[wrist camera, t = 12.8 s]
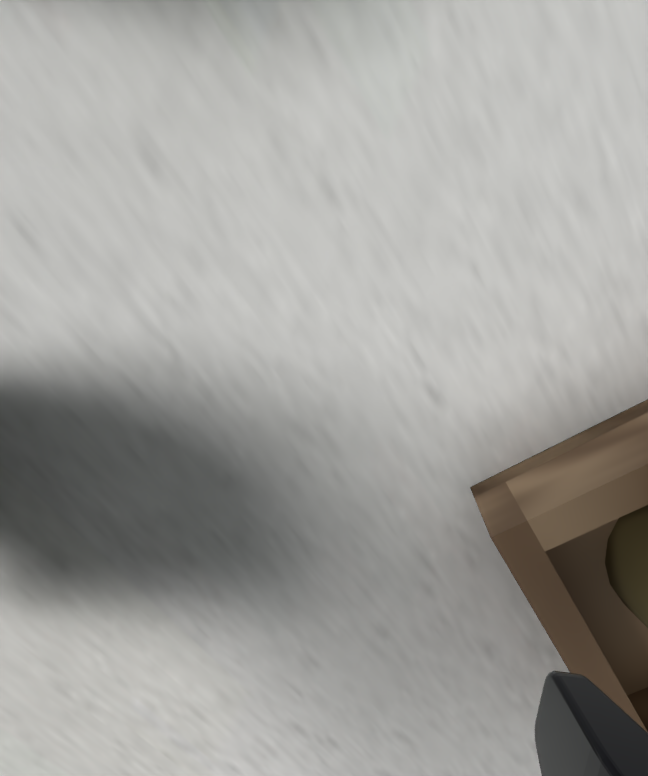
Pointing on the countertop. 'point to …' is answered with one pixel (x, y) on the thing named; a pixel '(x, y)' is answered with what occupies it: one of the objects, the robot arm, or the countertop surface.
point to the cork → (630, 561)
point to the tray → (578, 548)
